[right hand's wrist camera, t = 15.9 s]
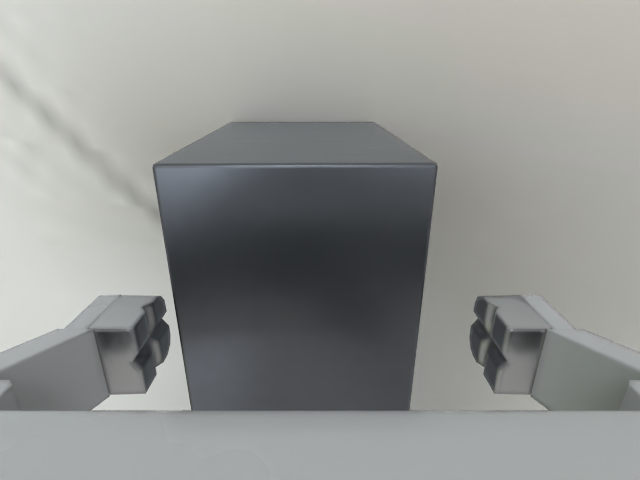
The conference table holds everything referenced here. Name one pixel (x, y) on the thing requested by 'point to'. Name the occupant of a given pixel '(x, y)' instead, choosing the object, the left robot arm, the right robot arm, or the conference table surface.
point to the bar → (297, 264)
